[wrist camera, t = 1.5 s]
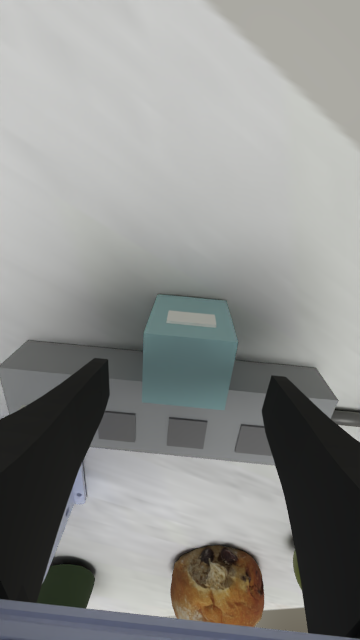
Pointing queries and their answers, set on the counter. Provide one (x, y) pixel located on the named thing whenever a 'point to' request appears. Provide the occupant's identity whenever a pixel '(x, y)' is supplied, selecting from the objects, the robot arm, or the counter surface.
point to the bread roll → (218, 587)
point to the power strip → (166, 420)
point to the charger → (188, 352)
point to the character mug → (67, 586)
